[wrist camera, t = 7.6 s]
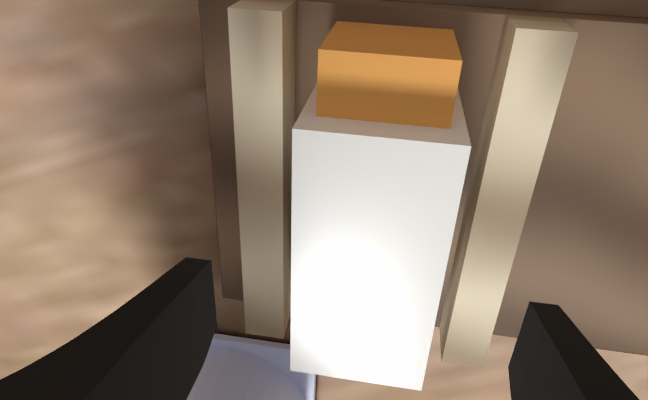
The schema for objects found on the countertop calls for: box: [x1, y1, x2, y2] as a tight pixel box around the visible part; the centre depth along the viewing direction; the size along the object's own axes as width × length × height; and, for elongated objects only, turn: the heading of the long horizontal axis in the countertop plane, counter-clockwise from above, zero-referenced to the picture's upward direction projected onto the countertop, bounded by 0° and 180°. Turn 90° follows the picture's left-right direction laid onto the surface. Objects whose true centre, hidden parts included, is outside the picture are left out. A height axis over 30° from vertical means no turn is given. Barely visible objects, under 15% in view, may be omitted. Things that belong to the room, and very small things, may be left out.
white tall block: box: [290, 21, 471, 391], centre depth 15 cm, size 10×4×5 cm, turn 177°
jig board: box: [199, 0, 648, 368], centre depth 17 cm, size 12×22×3 cm, turn 88°
